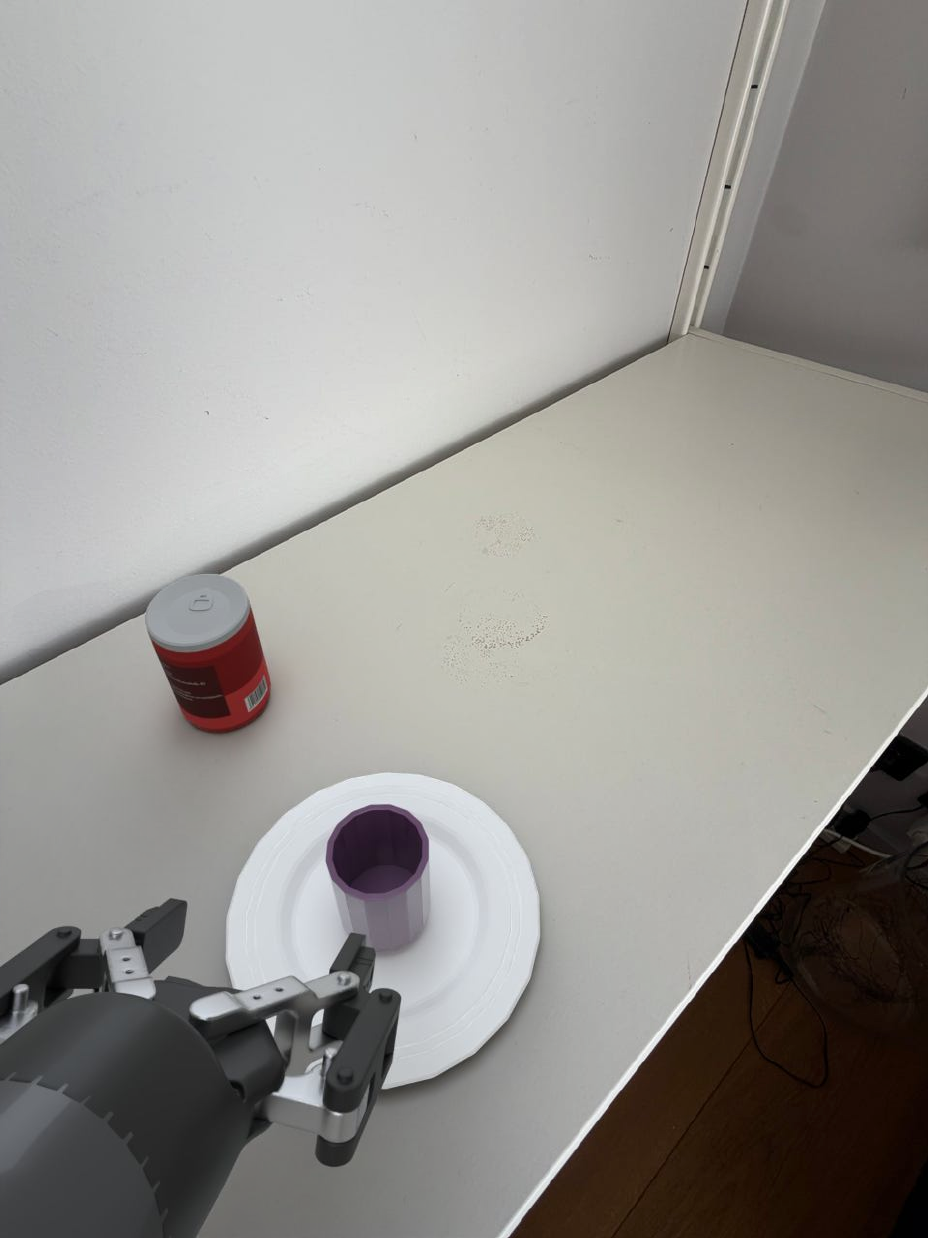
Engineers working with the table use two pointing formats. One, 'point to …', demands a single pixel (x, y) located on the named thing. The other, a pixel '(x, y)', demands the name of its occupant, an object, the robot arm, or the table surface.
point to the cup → (381, 875)
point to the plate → (443, 952)
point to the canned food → (210, 651)
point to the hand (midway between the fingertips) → (266, 936)
